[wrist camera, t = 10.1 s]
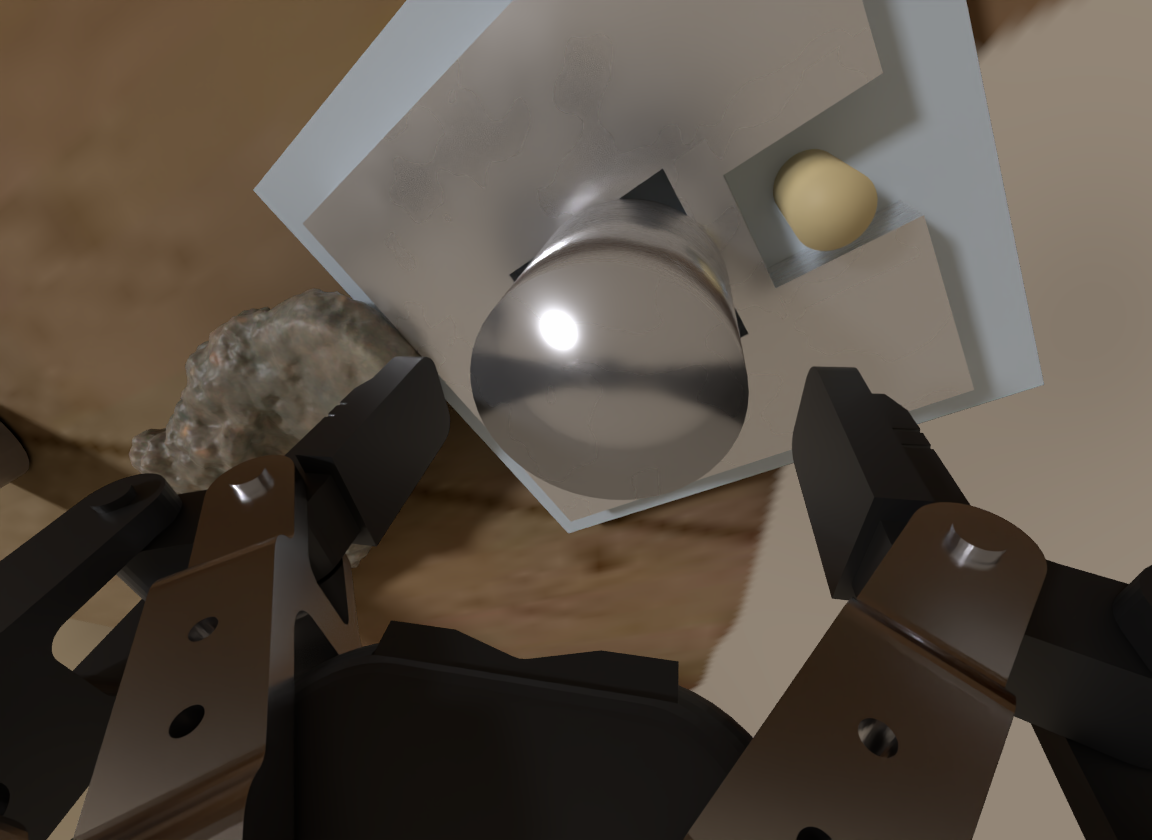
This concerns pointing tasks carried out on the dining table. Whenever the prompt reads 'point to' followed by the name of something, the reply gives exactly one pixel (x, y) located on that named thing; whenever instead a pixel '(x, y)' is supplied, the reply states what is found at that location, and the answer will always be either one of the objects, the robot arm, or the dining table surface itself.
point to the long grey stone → (268, 387)
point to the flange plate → (616, 138)
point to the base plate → (753, 183)
